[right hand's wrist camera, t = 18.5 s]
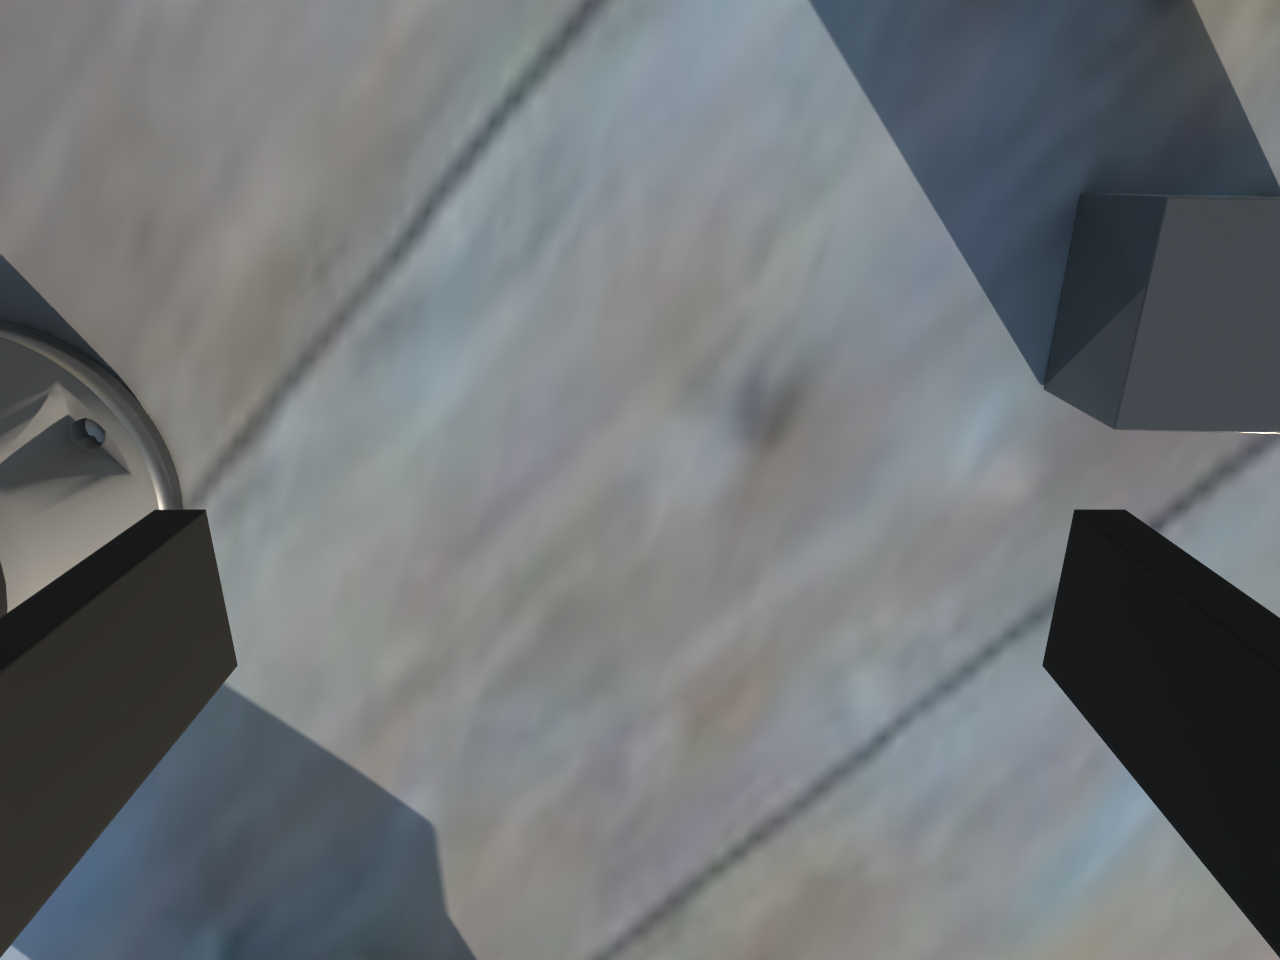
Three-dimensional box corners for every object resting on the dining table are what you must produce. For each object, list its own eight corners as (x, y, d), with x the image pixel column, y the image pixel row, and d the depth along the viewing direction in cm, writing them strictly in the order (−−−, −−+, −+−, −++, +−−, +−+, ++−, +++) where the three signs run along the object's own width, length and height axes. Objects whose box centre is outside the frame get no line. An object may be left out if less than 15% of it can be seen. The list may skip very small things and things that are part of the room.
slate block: (1231, 393, 35) (1339, 435, 29) (1042, 389, 35) (1114, 430, 30) (1285, 196, 32) (1416, 200, 27) (1080, 192, 32) (1167, 196, 27)
